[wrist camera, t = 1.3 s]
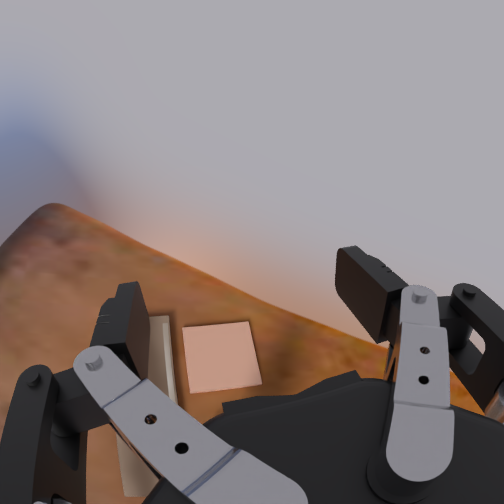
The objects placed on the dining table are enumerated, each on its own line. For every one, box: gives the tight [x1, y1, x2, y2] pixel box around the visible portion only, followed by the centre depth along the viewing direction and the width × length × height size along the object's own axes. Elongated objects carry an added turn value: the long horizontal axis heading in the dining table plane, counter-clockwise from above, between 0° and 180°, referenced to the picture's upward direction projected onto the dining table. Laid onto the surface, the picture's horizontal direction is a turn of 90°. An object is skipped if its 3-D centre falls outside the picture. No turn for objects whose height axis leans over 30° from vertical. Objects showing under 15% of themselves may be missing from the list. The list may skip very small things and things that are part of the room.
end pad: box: [182, 322, 262, 393], centre depth 34 cm, size 8×8×1 cm
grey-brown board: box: [116, 316, 178, 497], centre depth 29 cm, size 7×21×1 cm, turn 11°
